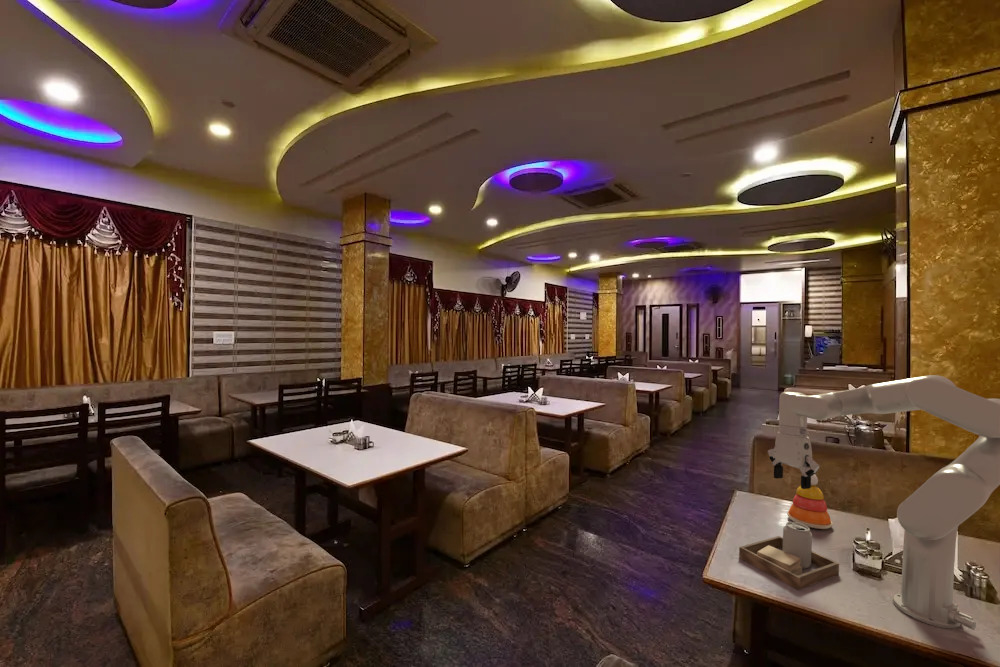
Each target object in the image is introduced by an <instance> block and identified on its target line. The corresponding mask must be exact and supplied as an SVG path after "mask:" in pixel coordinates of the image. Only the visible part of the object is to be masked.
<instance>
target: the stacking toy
mask: <svg viewBox="0 0 1000 667" xmlns="http://www.w3.org/2000/svg"><path fill="white" fill-rule="evenodd" d="M818 483H819V478H818V477H817V475H816V473H815V474H814V475H813V476H811V488H810V489H802V488H801V485H799V486H798V487H797V489H796V491H795V492H796V493H795V495H794V497H793V499H792V504H791V505H790V507H789V510H788V511H787V512H786V514H787V517H788V518H789V519H790V520H791V521H792V522H796V523H800V524H803V525H805V526H807V527H808V528H811V529H819V530H828V529H830V528H832V527H833V525H834V523H833V521H832V520H831V516H830V514H829V511H828V505H827V503H826V501H825V500H824V498H825V497H824V493H823V491H822V490H821V489H820V488H819V487H817V486H816V485H818Z"/></svg>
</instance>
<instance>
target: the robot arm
mask: <svg viewBox="0 0 1000 667" xmlns="http://www.w3.org/2000/svg"><path fill="white" fill-rule="evenodd" d="M778 404H779V408H778V409H779V411H778V431H777V432H776V437H775V440H774V441H775V442H774V443H775V444H774V448H771V449H768V450H767V454H768V456H769V460H770V461H771V465H772V466H773V478H774V479H783V477H784V466H783V465H787V466H790V467H793V468H795V469H799V471H800V472H801V474H802V475H801V476H800V486H801V488H802V489H810V488H811V476H813V475H814V474H815V475H816V474H817V473H818V470H819V469H820V465H819V464H818V463H817V462H816V461H815V460H814V459H813V450H812V448H813V447H812V443H811V439H810V437H809V436H808V435H810V431H809V429H808V419H812V420H817V421H825V420H828V419H830V418H831V419H832V418H836V417H843V416H850V415H851V416H852V415H859V414H861V415H862V414H874V415H875V414H876V415H887V414H897V413H903V412H911V411H921V410H922V411H923V412H926V413H927V414H930V415H932V416H934V417H937V418H939V419H941V420H943V421H946V422H947V423H949V424H952V425H954V426H956V427H959V428H961V429H963V430H966V431H967V432H970V433H973V434H974V435H978V438H977V439H975V441H974V442H973V443H972V444H970V445H969V446H968V447H967V448H966V449H965V450H964V451H963V452H962V453H961V454H959V455H958V457H956V458H955V459H954V460H953V461H952V462H950V463H949V464H948V465H946V466H944V467H941V469H939V470H938V471H936V472H935V473H934V474H932V476H930V477H929V478H928V479H927V480H926V481H925V482H924V483H923V484H921V486H919V487H918V488H917V489H916V490H914V491H913V492H912V494H910V495H909V496H908V497H906V498H905V500H903V501H902V502H901V503H900V504H899V505H898V506H897V507H898V508H897V510H896V517H897V520H898V523H899V524H900V525H899V526H900V527H901V528H902V529H903V531H904V532H903V548H902V564H901V565H902V568H901V569H902V571H901V587H900V588H901V589H900V590H901V592H900V593H896V594H894V595H893V596H892V602H893V604H894V606H896V607H897V608H898V609H899V610H900V611H901V612H902V613H904V614H906V615H908V616H910V617H911V618H913V619H916V620H917V621H920V622H922V623H925V624H928V625H932V626H934V627H938V628H942V629H958V628H959V627H961V625H962V626H964V627H966V628H968V629H970V630H972V631H973V630H975V629H976V626H977V625H976V624H977V623H976V621H974V618H973V616H970V615H969V614H966V613H964V612H960V610H959V609H958V604H957V603H955V602H953V601H954V600H953V599H954V582H955V581H954V579H955V576H954V575H955V561H956V548H957V547H956V546H957V537H958V528H959V525H962V524H963V523H964V522H965V521H967V520H968V519H969V518H970V517H972V515H974V514H976V512H978V511H979V509H981V508H982V506H984V505H985V503H987V501H988V499H989V498H990V496H991V495H992V493H993V492H995V490H996V489H997V488H998V487H999V486H1000V398H985V397H984V396H983V397H982V396H980V395H978V394H974V393H973V392H970V391H967V390H965V389H963V388H960V387H958V386H956V384H955V383H954V382H953V381H952V380H950V379H949V378H947V377H945V376H942V375H938V374H934V375H933V374H929V375H924V376H923V375H922V376H917V377H916V376H915V377H911V378H904V379H898V380H892V381H886V382H885V381H884V382H880V383H873V384H872V383H871V384H868V385H866V386H863V387H859V388H853V389H846V390H839V391H836V392H835V391H834V392H827V393H820V394H815V395H806V393H803V392H797V391H783V392H781V393H780V394H779V403H778Z"/></svg>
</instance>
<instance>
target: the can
mask: <svg viewBox="0 0 1000 667" xmlns="http://www.w3.org/2000/svg"><path fill="white" fill-rule="evenodd" d="M810 530H811V529H810V527H807V526H805V525H803V524H800V523H796V522H794V521H788V522H786V523H785V525H784V526H783V528H782V538H783V548H782V549H781V550H782V551H784V552H786V553H789V554H791V555H794V556H796V557H799V558H801V564H800V566H801V567H802V569H807V568H809V567H811V566H812V563H811V553H812V551H813V550H812V548H813V546H812V545H813V543H812V542H813V533H812V532H811V531H810Z"/></svg>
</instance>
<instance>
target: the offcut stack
mask: <svg viewBox="0 0 1000 667" xmlns="http://www.w3.org/2000/svg"><path fill="white" fill-rule="evenodd" d="M757 555H759V556H760V557H762V558H764V559H766V560H768V561H770V562H772V563H774V564H776V565H778V566H780V567H782V568H784V569H785V570H787V571H789V572H791V573H793V574H795V575H797V576H798V575H801V574H803V568H802V567H801V566H800V564H801V558H799V557H796V556H794V555H791V554H789V553H786V552H784V551H782V549H780V548H774V547H772V546H769V545H768V546H766V547H764V548H763V549H761V550H759V551H758V552H757Z"/></svg>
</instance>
